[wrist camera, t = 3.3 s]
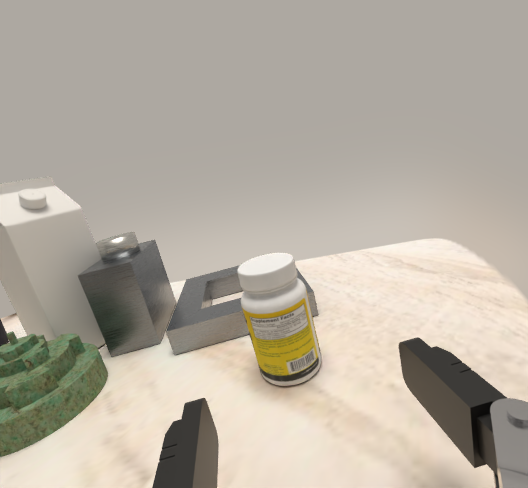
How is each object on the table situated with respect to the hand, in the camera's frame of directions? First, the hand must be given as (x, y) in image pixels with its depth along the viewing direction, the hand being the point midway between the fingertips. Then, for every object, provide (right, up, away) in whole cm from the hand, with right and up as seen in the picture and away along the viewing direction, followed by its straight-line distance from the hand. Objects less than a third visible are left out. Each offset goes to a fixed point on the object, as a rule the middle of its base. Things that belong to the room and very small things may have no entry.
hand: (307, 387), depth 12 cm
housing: (-7, -2, +23) cm, 24 cm away
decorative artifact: (-20, -8, +14) cm, 26 cm away
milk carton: (-22, -6, +23) cm, 33 cm away
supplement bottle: (0, -4, +11) cm, 11 cm away
